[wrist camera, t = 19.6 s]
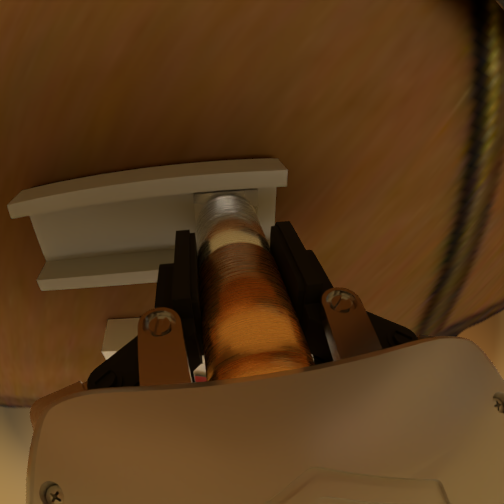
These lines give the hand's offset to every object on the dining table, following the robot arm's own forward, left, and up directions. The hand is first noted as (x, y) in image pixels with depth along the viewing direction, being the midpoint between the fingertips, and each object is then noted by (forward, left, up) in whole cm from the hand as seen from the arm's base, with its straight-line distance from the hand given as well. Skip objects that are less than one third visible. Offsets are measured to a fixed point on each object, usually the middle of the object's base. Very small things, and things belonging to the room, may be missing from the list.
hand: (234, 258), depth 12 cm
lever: (0, 0, -4) cm, 4 cm away
